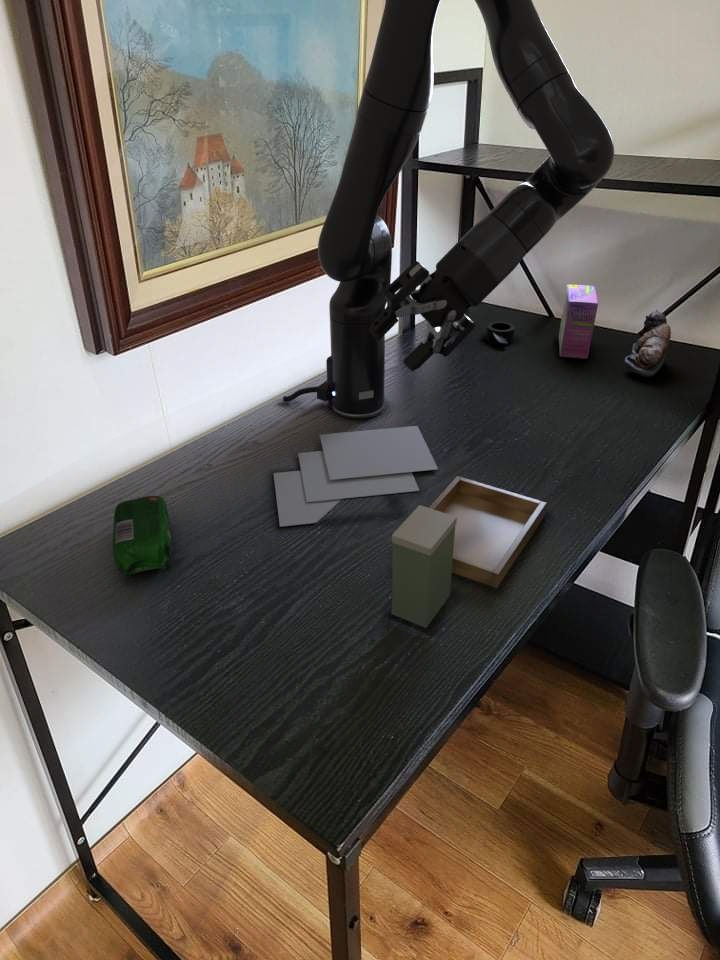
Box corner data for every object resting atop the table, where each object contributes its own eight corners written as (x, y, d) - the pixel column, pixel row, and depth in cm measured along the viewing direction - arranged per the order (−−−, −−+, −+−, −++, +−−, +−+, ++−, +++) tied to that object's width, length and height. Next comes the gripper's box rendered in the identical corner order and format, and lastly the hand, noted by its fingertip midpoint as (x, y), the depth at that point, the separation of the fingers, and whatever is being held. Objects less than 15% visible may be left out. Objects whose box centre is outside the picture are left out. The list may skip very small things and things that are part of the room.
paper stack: (454, 508, 104) (455, 504, 104) (279, 526, 101) (279, 522, 100) (417, 429, 123) (417, 425, 123) (269, 442, 120) (269, 439, 120)
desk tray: (399, 554, 96) (399, 539, 94) (456, 489, 108) (457, 475, 107) (496, 590, 90) (498, 574, 88) (544, 517, 102) (546, 502, 101)
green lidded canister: (390, 615, 86) (391, 535, 79) (416, 583, 91) (419, 504, 84) (426, 630, 84) (430, 549, 77) (451, 596, 89) (457, 516, 82)
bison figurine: (658, 384, 137) (670, 333, 131) (619, 377, 140) (630, 327, 134) (665, 360, 146) (677, 311, 140) (629, 354, 149) (639, 306, 143)
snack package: (117, 595, 90) (109, 562, 87) (118, 521, 102) (111, 491, 99) (176, 584, 91) (170, 552, 88) (170, 513, 104) (164, 483, 101)
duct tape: (526, 335, 157) (528, 323, 156) (505, 351, 151) (506, 338, 149) (494, 328, 161) (495, 315, 160) (472, 342, 154) (473, 329, 153)
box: (588, 359, 147) (598, 302, 140) (559, 357, 148) (568, 300, 141) (585, 339, 155) (595, 285, 149) (558, 337, 156) (566, 283, 150)
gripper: (489, 278, 100) (405, 361, 104) (439, 213, 90) (347, 309, 93) (520, 304, 96) (431, 391, 99) (471, 239, 85) (373, 339, 88)
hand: (390, 351), depth 96 cm, fingers open, 8 cm apart
